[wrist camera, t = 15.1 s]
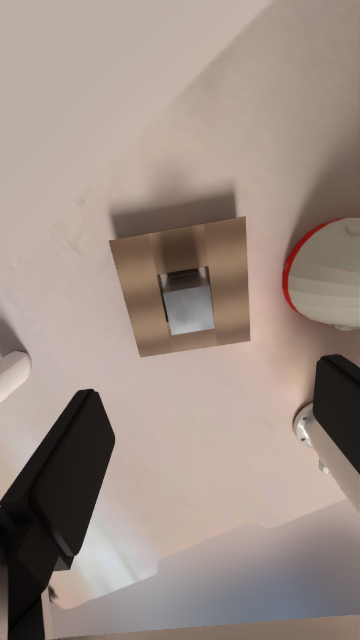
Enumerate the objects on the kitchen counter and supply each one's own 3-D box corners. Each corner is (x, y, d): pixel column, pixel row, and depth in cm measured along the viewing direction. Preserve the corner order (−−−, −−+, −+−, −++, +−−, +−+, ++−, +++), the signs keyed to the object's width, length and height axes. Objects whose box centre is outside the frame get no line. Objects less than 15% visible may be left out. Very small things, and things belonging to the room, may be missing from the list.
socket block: (242, 330, 31) (250, 340, 28) (144, 345, 32) (140, 357, 29) (236, 219, 26) (245, 216, 22) (117, 241, 26) (108, 240, 23)
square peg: (202, 301, 30) (214, 328, 20) (173, 306, 30) (171, 335, 20) (198, 271, 28) (209, 285, 19) (167, 277, 28) (162, 293, 19)
